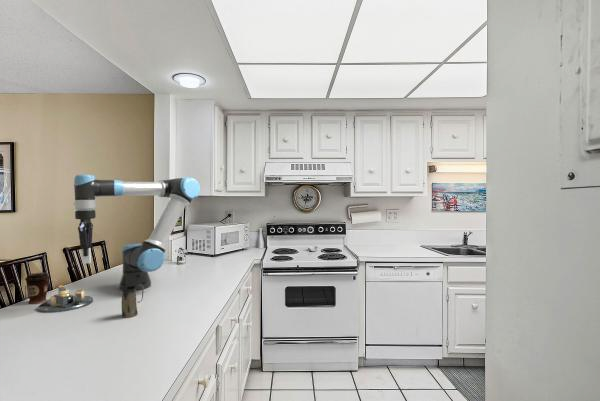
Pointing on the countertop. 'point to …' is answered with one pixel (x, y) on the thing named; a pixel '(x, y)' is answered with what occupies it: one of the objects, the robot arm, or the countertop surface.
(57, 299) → the knob
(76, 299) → the knob
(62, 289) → the knob
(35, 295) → the coffee cup
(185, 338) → the countertop surface
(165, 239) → the robot arm
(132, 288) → the mug
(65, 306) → the candle tray
